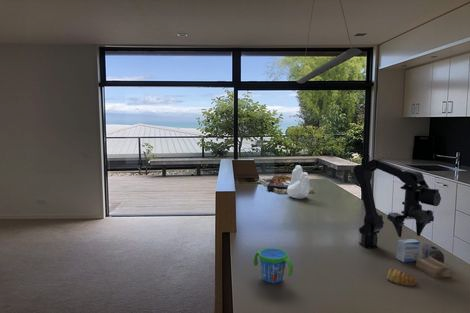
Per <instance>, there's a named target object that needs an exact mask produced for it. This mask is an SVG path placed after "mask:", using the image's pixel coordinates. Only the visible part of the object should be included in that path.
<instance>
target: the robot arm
mask: <svg viewBox="0 0 470 313" xmlns="http://www.w3.org/2000/svg"><path fill="white" fill-rule="evenodd" d="M376 170H380V171H382V172H384V173H387V174H389V175H392V176H394V177H396V178H397V179H399V180H400V181H401V182H402V183H404V185H403V184H402V186H401V187H400V189H401V190H405V192H404V201H402V202H401V203H402V204H401V205H403V210H401V213H399V212H389V213H388V214H387V220H389V222H392V225H393V227H394V228H395V232H396V234H397V236H398V237H399V238H402V234H403V233H402V232H403V226H404V225H405V220H415V232H416V236H418V237H420V236H421V234H422V232H423V230H424V229H425V227H426V226H427V225H428V224H431V223H432V222H434V220H435V217H434V213H433V212H434V211H432V210H431V209H427V210H426V209H423V206H422V204H424V205H428V206H434V207H438V206H439V205H440V203H441V200H442V197H441V193H440V192H439V191H440V189H438V188H431V187H430V186H429V184H428V183H427V182H426V180H425V176H424V174H423V173H422V172H421V171H419V170H412V169H406V168H402V167H400V166H397V165H395V164H392V163H390V162H387V161H385V160H383V159H381V158H374V159H371V160H369V161H366V162H364V163H362V164H357V165H355V166H354V168H353V171H352V172H353V175H354V178H355V180H356V181H357V183H359V188H360V191H361V196H362V202H363V206H364V211H365V214H364V218H363V225H362V226H360V227H359V229H358V230H359V231H358V232H359V234H361V239H360V242H358V244H360V245H361V246H363V247H364V248H366V249H374V248H379V245H378V234H379V233H380V231H382V229H383V228H384V224H385V222H384V220H383V218H384V217H383V215H382V214H380V215H379V213H378V212H377V208H376V202H375V198H374V193H373V187H372V182H371V181H372V177H373V172H375V171H376ZM420 203H421V204H420Z"/></svg>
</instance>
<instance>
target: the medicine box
mask: <svg viewBox="0 0 470 313" xmlns="http://www.w3.org/2000/svg"><path fill="white" fill-rule="evenodd" d="M396 244H397V245H396V246H397V247H396V259H397V260H399V261H400V262H402V263H405V264H406V263H411V262H412V263H414V262H416V261H417V258H420V246H421V242H420V241H419V240H417V239H414V238H409V239H407V238H406V239H397V243H396Z"/></svg>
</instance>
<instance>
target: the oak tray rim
mask: <svg viewBox="0 0 470 313" xmlns="http://www.w3.org/2000/svg"><path fill="white" fill-rule="evenodd" d="M271 179H272V178H259V179H258V182H259V183H260V185H261V184H262V185H263V186H265V187H266V188H267V186H268V184H269V182H270V181H271ZM273 192H274V193H275V194H277V195H278V194H279V195H281V194H285V195H286V194H287V195H288V193H287V190H278V189H276V188H274V190H273V191H272V193H273ZM313 193H315V189H314V188H313V187H311V186H310V187H309V193H308V194H313Z"/></svg>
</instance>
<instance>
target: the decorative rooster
mask: <svg viewBox="0 0 470 313" xmlns="http://www.w3.org/2000/svg"><path fill="white" fill-rule="evenodd" d="M291 176H292V177H291ZM291 176H290V177H291V181H290V183H289V186H288V188H287V193H288V194H287V195H288V196H289V197H291V198H293V199H298V200H299V199H300V200H302V199H305V198H306V197H308V196H309V194H310V193H309V187H310V188H311V186H310V177H309V174H308V172H306V171H303V167H302V166H301V165H300V164H299V165H298V164H297V165H295V167H294V169H293V170H292V172H291Z"/></svg>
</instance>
